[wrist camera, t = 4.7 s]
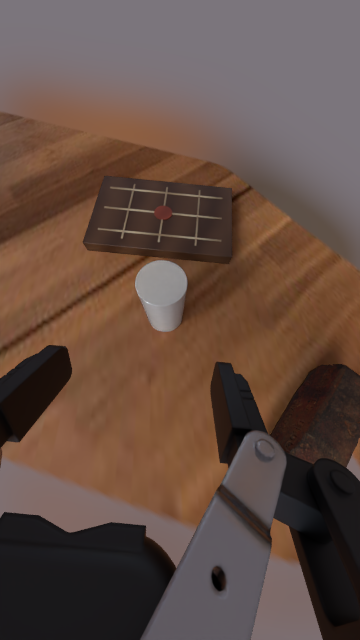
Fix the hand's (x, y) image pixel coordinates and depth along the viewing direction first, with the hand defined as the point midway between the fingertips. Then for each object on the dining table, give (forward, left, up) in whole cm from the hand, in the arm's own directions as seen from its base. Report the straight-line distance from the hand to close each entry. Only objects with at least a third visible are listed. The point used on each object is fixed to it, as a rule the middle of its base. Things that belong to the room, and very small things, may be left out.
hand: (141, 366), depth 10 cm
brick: (+16, -3, -11) cm, 20 cm away
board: (-2, +22, -11) cm, 25 cm away
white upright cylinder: (0, +7, -11) cm, 13 cm away
